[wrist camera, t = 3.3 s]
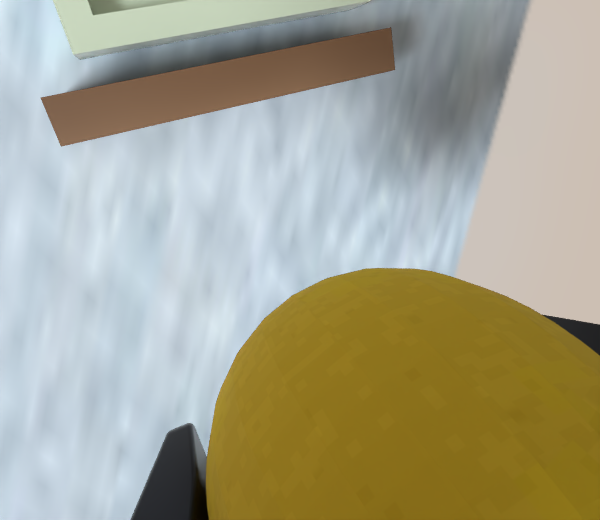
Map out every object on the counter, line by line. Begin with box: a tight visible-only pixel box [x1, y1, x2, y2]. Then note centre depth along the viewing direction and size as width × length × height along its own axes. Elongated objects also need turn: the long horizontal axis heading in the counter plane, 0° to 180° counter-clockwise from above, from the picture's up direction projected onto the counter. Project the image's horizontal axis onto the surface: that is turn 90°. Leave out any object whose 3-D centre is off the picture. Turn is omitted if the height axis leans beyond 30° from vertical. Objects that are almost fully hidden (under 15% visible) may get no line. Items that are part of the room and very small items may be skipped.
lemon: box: [206, 268, 600, 520], centre depth 6 cm, size 6×6×8 cm
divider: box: [41, 28, 395, 146], centre depth 13 cm, size 1×10×2 cm, turn 102°
